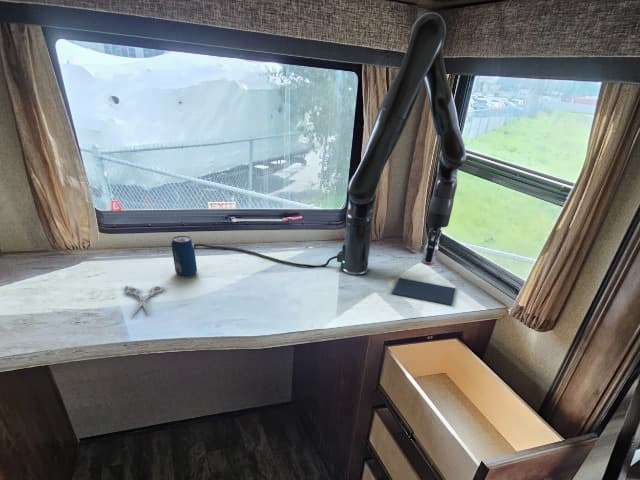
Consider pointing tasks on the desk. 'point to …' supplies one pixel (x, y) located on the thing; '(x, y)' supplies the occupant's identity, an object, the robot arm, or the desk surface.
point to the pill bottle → (433, 255)
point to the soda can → (184, 256)
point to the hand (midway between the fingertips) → (429, 259)
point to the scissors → (142, 299)
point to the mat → (424, 291)
